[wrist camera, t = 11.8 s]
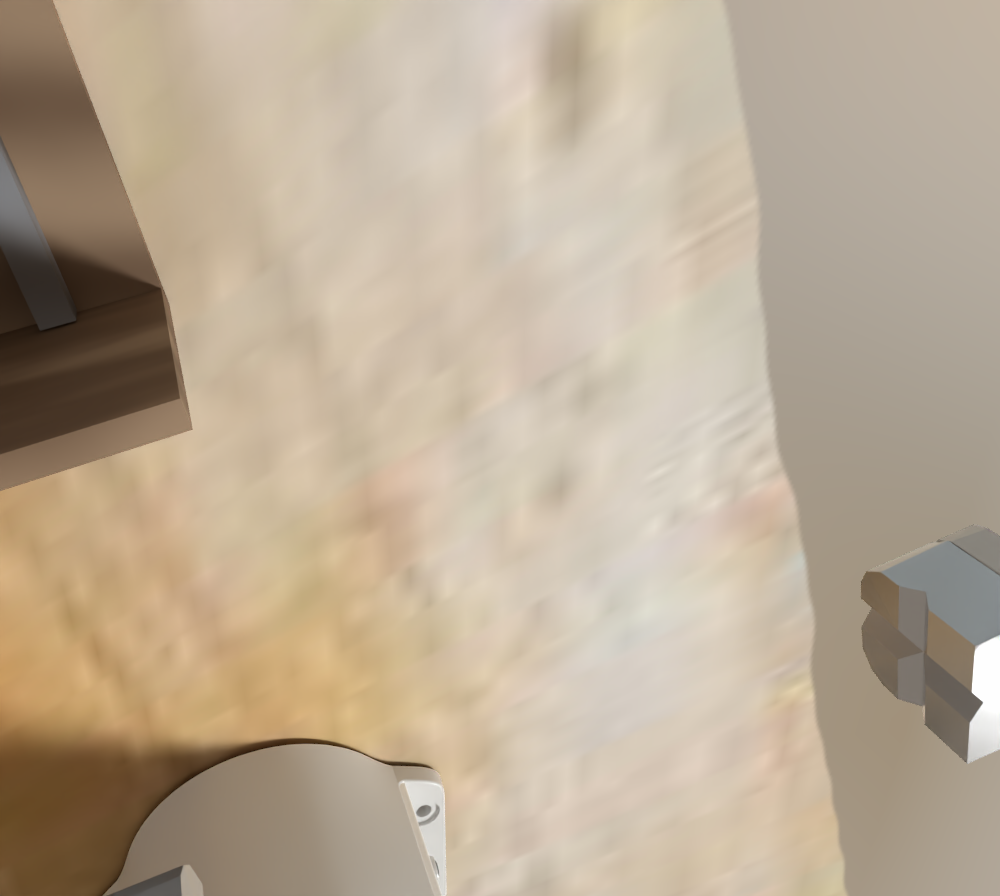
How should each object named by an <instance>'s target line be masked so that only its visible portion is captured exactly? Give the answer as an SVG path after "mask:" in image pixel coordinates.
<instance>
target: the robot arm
mask: <svg viewBox="0 0 1000 896" xmlns="http://www.w3.org/2000/svg"><path fill="white" fill-rule="evenodd" d="M861 599H863V600H864V601H865V602H866V603H867V604H868V605H870V606H871V607H872V609H871V610H870V612H869V614H868V616H867V618H866V620H865V621H864V623H863V625H862V642H863V650H864V652H865V654H866V657H867V659H868V661H869V664H870V666H871V668H872V670H873V672H874V673H875V674H876V676H877V677H878V678H879V680H880V681H881V683H882V684H883V685H884V686H885V687H886V688H887V689H888V690H889V691H890V692H891V693H892V694H893V695H894V696H895V697H896V698H897V699H900V700H903V701H906V702H910V703H913V704H916V705H920V706H922V707H923V715H924V722H925V725H926V726H927V727H928V728H929V729H930V730H931V731H933V732H934V733H935V734H936V735H937V736H938V737H939V738H940V739H941V740H942V741H943V742H944V743H945V744H946V745H948V746H949V747H950V748H951V749H952V750H953V751H954V752H955V753H956V754H957V755H958V756H959V757H960V758H962V759H963V760H964V761H965V762H966V763H967V764H968V763H970V762H972V761H975V760H977V759H979V758H981V757H983V756H986V755H988V754H990V753H992V752H995V751H997V750H999V749H1000V536H999V535H998V534H996V533H995V532H993V531H991V530H990V529H988V528H986V527H983V526H978V525H971V526H969V527H966V528H964V529H962V530H960V531H957V532H955V533H953V534H950V535H948V536H946V537H944V538H941V539H939V540H937V541H936V542H932V543H929V544H927V545H925V546H922V547H920V548H918V549H916V550H913V551H911V552H909V553H907V554H904V555H902V556H900V557H898V558H896V559H893V560H891V561H889V562H887V563H884V564H882V565H880V566H877V567H875V568H873V569H871V570H868V571H867V572H866V573H865V575H864V577H863V579H862V581H861ZM103 896H447V886H446V839H445V793H444V788H443V784H442V780H441V776H440V774H439V773H438V772H437V771H435V770H433V769H430V768H426V767H416V766H391V765H387V764H384V763H381V762H378V761H376V760H374V759H372V758H370V757H368V756H365V755H363V754H361V753H358V752H356V751H353V750H349V749H346V748H342V747H337V746H331V745H322V744H292V745H283V746H276V747H270V748H266V749H261V750H257V751H253V752H250V753H246V754H243V755H240V756H237V757H235V758H232V759H229V760H227V761H225V762H222V763H220V764H218V765H216V766H214V767H212V768H210V769H208V770H206V771H204V772H202V773H200V774H199V775H197V776H195V777H194V778H192V779H191V780H189V781H187V782H186V783H185V784H183V785H182V786H180V787H179V788H178V789H177V790H175V791H174V792H173V793H171V794H170V795H169V796H168V797H167V798H166V799H165V800H164V801H162V802H161V803H160V804H159V806H158V807H157V808H156V809H155V810H154V811H153V812H152V813H151V814H150V815H149V817H148V818H147V819H146V821H145V822H144V823H143V825H142V826H141V828H140V829H139V831H138V833H137V834H136V836H135V838H134V840H133V842H132V845H131V847H130V849H129V852H128V855H127V859H126V862H125V865H124V868H123V870H122V872H121V875H120V876H119V878H118V880H117V881H116V882H115V883H114V884H113V885H112V886H111V887H110V888H109V889H108V890H107V892H106V893H105V894H104V895H103Z"/></svg>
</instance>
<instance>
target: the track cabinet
mask: <svg viewBox="0 0 1000 896" xmlns="http://www.w3.org/2000/svg"><path fill="white" fill-rule="evenodd" d="M189 430H192V424H191V418H190V413H189V408H188V402H187V397H186V392H185V386H184V381H183V376H182V370H181V365H180V359H179V354H178V349H177V343H176V338H175V333H174V327H173V322H172V317H171V311H170V306H169V303H168V300H167V298H166V295H165V292H164V290H163V287H162V285H161V282H160V279H159V277H158V274H157V271H156V269H155V266H154V264H153V261H152V258H151V256H150V253H149V251H148V248H147V245H146V243H145V240H144V238H143V235H142V232H141V230H140V227H139V225H138V222H137V219H136V217H135V214H134V212H133V209H132V206H131V204H130V201H129V199H128V196H127V193H126V191H125V188H124V186H123V183H122V180H121V178H120V175H119V173H118V170H117V167H116V165H115V162H114V160H113V157H112V154H111V152H110V149H109V146H108V144H107V141H106V139H105V136H104V133H103V131H102V128H101V126H100V123H99V120H98V118H97V115H96V113H95V110H94V107H93V105H92V102H91V100H90V97H89V94H88V92H87V89H86V87H85V84H84V81H83V79H82V76H81V74H80V71H79V68H78V66H77V63H76V61H75V58H74V55H73V53H72V50H71V48H70V45H69V42H68V40H67V37H66V34H65V32H64V29H63V27H62V24H61V21H60V19H59V16H58V14H57V11H56V8H55V6H54V3H53V1H52V0H0V491H2V490H5V489H8V488H11V487H14V486H17V485H20V484H23V483H27V482H30V481H33V480H36V479H39V478H42V477H45V476H49V475H52V474H55V473H58V472H61V471H64V470H67V469H70V468H74V467H77V466H80V465H83V464H86V463H89V462H92V461H95V460H99V459H102V458H105V457H108V456H111V455H114V454H117V453H121V452H124V451H127V450H130V449H133V448H136V447H139V446H142V445H146V444H149V443H152V442H155V441H158V440H161V439H164V438H167V437H171V436H174V435H177V434H180V433H183V432H186V431H189Z"/></svg>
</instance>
